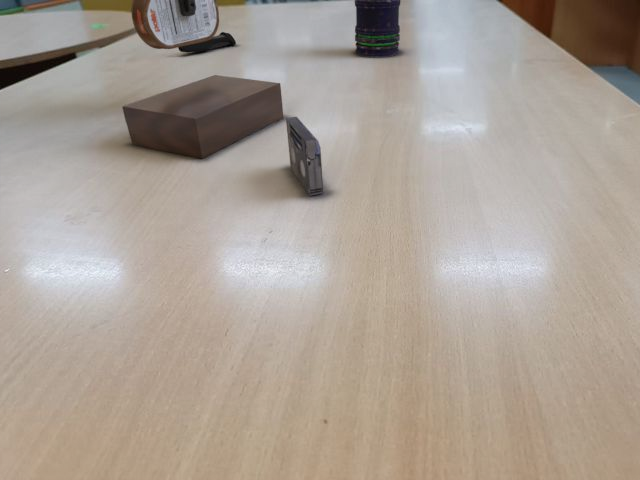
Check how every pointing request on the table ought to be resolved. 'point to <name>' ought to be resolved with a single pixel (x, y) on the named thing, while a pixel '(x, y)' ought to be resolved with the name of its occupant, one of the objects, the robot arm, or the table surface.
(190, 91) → the block
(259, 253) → the table surface
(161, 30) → the tin
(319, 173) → the mini dv tape
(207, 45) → the electric trimmer
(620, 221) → the table surface
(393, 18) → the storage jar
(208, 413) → the table surface
